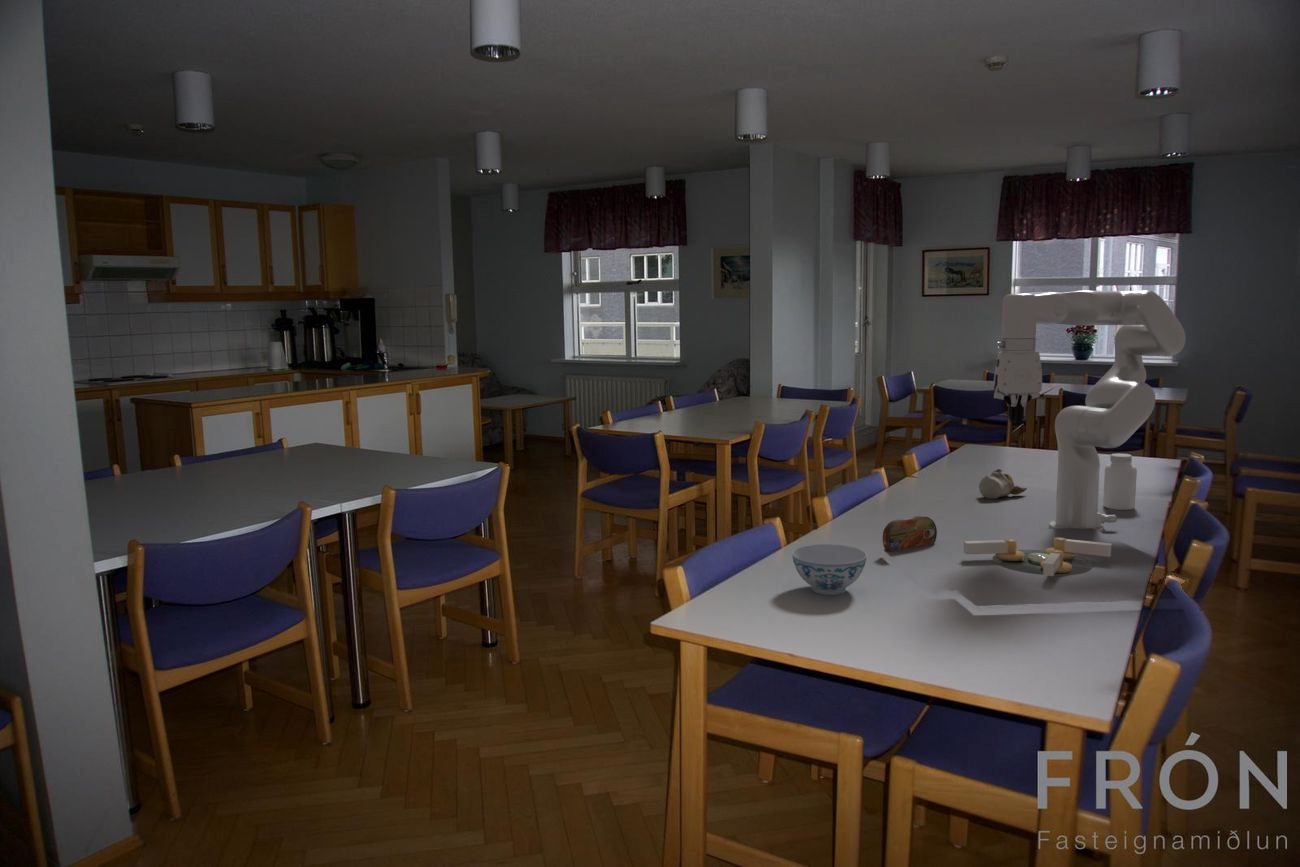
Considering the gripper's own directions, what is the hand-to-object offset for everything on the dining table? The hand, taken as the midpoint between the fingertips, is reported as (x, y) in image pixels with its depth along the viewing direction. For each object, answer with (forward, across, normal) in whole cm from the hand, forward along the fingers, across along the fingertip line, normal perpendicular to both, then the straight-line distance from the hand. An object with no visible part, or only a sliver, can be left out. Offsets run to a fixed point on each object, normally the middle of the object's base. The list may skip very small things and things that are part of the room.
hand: (1015, 422), depth 215 cm
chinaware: (+29, -53, -34) cm, 69 cm away
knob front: (+27, -6, -33) cm, 43 cm away
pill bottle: (+29, +44, +31) cm, 61 cm away
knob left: (+27, -13, -21) cm, 37 cm away
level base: (+29, -4, -24) cm, 38 cm away
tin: (+29, -28, -8) cm, 41 cm away
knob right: (+27, +4, -23) cm, 36 cm away
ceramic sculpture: (+30, +18, +50) cm, 61 cm away
